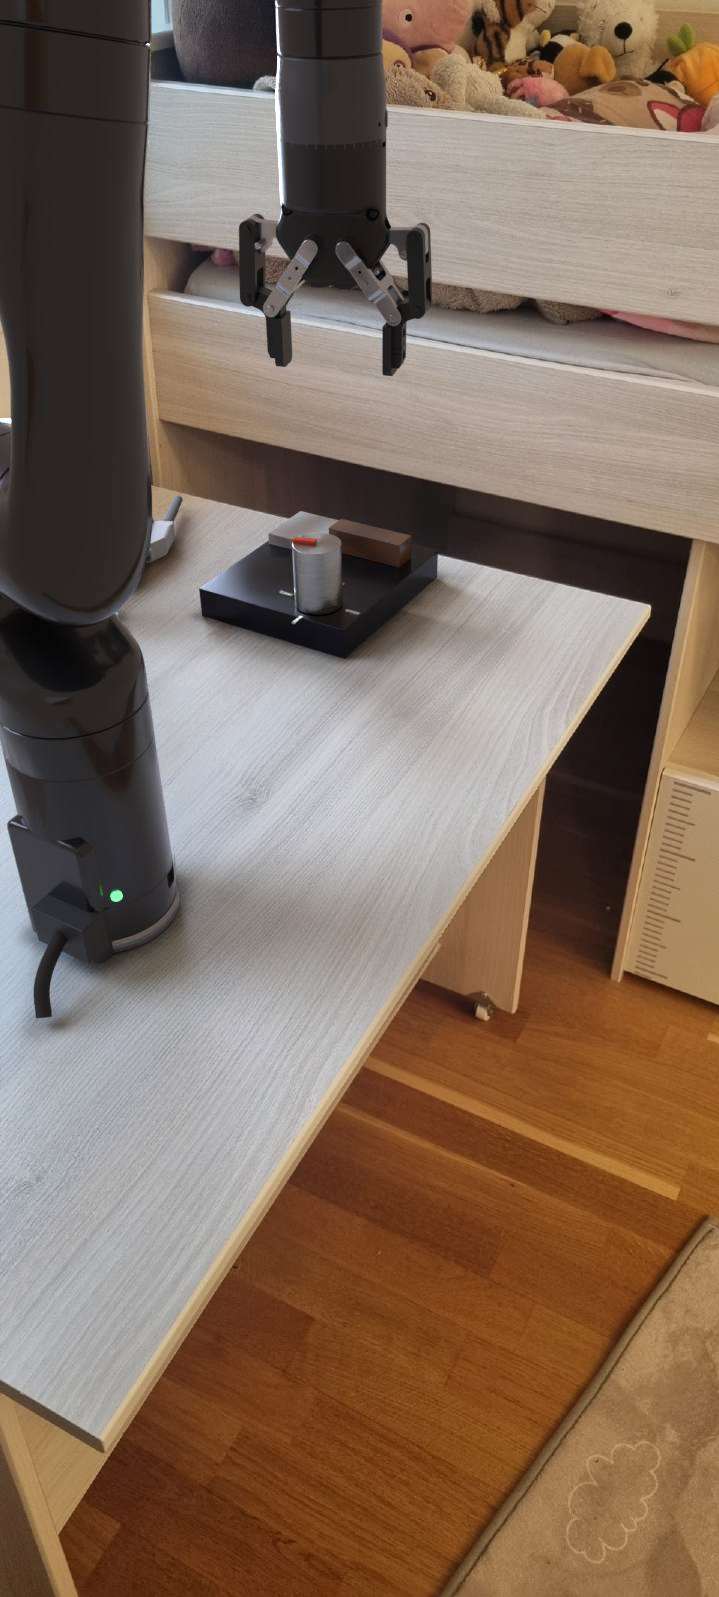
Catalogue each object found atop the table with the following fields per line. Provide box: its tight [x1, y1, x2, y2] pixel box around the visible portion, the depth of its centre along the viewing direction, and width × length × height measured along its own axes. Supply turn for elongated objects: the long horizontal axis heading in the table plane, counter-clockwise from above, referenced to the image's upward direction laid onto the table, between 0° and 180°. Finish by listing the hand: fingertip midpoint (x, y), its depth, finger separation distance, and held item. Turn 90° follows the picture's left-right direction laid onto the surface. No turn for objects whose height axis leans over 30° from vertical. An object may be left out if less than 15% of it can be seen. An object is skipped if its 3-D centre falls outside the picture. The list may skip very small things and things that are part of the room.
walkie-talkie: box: [146, 495, 184, 563], centre depth 125 cm, size 9×4×20 cm
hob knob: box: [292, 533, 343, 615], centre depth 108 cm, size 4×4×6 cm
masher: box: [268, 510, 413, 568], centre depth 118 cm, size 14×6×2 cm, turn 59°
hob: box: [198, 540, 439, 660], centre depth 116 cm, size 19×16×3 cm
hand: (336, 368), depth 92 cm, fingers open, 8 cm apart
